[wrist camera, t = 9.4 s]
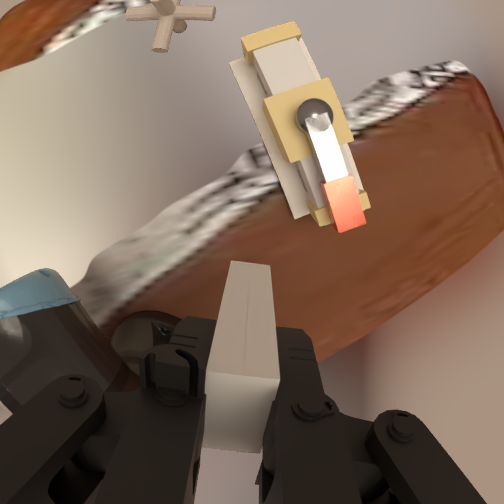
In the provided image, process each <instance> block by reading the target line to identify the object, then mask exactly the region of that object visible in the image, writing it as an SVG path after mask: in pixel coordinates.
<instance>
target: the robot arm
mask: <svg viewBox="0 0 504 504" xmlns="http://www.w3.org/2000/svg"><path fill="white" fill-rule="evenodd" d="M79 301H80V299H79V297H77V296H75V295H74V294H73V292H72V291H71V290H70V288H69V287H68V285H67V284H66V283H65V281H64V280H63V279H62V277H61V276H60V275H59V274H58V273H57V272H56V271H55V270H52V269H47V268H44V269H39V270H36V271H34V272H31V273H29V274H27V275H24V276H22V277H20V278H18V279H16V280H14V281H13V282H11V283H9V284H7V285H6V286H3V287H2V288H0V504H194V499H195V492H196V486H197V480H198V474H199V468H200V454H201V448H202V447H206V448H213V449H220V450H229V451H237V452H248V453H260V452H261V449H262V445H263V459H262V463H261V466H260V469H259V472H258V475H257V479H256V482H255V484H258V485H259V504H487V503H486V502H485V501H484V499H483V498H482V497H481V496H480V494H479V493H478V492H477V490H476V489H475V488H474V487H473V485H472V484H471V483H470V482H469V480H468V479H467V477H466V476H465V475H464V474H463V472H462V471H461V470H460V468H459V467H458V466H457V465H456V463H455V462H454V461H453V460H452V458H451V457H450V456H449V455H448V453H447V452H446V451H445V450H444V448H443V447H442V446H441V444H440V443H439V442H438V441H437V439H436V438H435V437H434V436H433V434H432V433H431V432H430V431H429V429H428V428H427V427H426V426H425V424H424V423H423V422H422V421H420V419H418V418H417V417H416V416H415V415H413V414H410V413H408V412H407V411H401V410H387V411H385V412H383V413H381V414H379V415H378V417H377V418H376V420H375V421H374V422H371V421H366V420H362V419H358V418H353V417H350V416H347V415H344V414H343V413H341V412H339V409H338V407H337V405H336V403H335V402H334V401H333V400H332V399H331V398H330V397H328V396H327V395H325V393H324V389H323V385H322V381H321V377H320V373H319V369H318V365H317V361H316V357H315V353H314V349H313V345H312V341H311V338H310V337H309V336H308V335H307V334H306V333H305V332H304V331H303V330H302V329H294V328H285V327H276V325H275V314H274V303H273V292H272V282H271V271H270V265H263V264H255V263H247V262H240V261H232V260H231V264H230V268H229V272H228V276H227V281H226V285H225V289H224V293H223V298H222V302H221V306H220V311H219V315H218V320H211V319H204V318H197V317H191V316H187V317H186V318H184V319H183V320H180V319H178V318H176V317H174V316H171V315H169V314H165V313H161V312H156V311H143V312H138V313H134V314H132V315H130V316H128V317H126V318H125V319H124V320H123V321H122V322H121V323H120V324H119V326H118V327H117V328H116V330H115V331H114V333H113V335H112V337H111V340H110V343H109V342H108V341H107V339H106V338H105V337H104V335H103V334H102V333H101V331H100V330H99V329H98V327H97V326H96V325H95V323H94V322H93V321H92V319H91V318H90V316H89V315H88V314H87V312H86V311H85V309H84V308H83V306H82V305H81V304H80V302H79Z"/></svg>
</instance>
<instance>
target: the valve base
mask: <svg viewBox="0 0 504 504" xmlns="http://www.w3.org/2000/svg"><path fill="white" fill-rule="evenodd" d="M300 36H301V32H300V30H299V28H298V26H297V25H296V23H295V21H292V22H288V23H285V24H281V25H278V26H274V27H271V28H268V29H265V30H262V31H259V32H256V33H253V34H250V35H247V36H245V37H242V38H241V42H242V48H243V54H244V56H245V57H242V58H239V59H237V60H234V61H232V62H229V65H230V67H231V69H232V72H233V74H234V76H235V78H236V80H237V82H238V85H239V87H240V89H241V91H242V94H243V96H244V98H245V100H246V102H247V105H248V107H249V109H250V112H251V114H252V116H253V118H254V121H255V123H256V126H257V128H258V130H259V133H260V135H261V137H262V140H263V142H264V144H265V147H266V149H267V152H268V154H269V156H270V159H271V161H272V164H273V166H274V169H275V171H276V174H277V176H278V178H279V181H280V183H281V186H282V188H283V191H284V193H285V196H286V199H287V201H288V204H289V206H290V209H291V211H292V214H293V217H294V218H295V219H297V218H299V217H302V216H305V215H307V214H311V216H312V217H313V218H314V220H315V221H316V222H317V223H318V225H319V226H320V227H321V226H325V225H328V224H330V223H332V221H331V218H330V215H329V212H328V208H327V205H326V202H325V199H324V196H323V193H322V190H321V187H320V184H319V181H322V178H321V175H320V172H319V169H318V166H317V163H316V160H315V157H314V155H313V152H312V149H311V146H310V143H309V140H308V138H307V135H306V133H305V132H303V131H302V130H301V129H300V128H299V127H298V126H297V124H296V121H295V113H296V110H297V108H298V107H299V106H300V105H301V104H302V103H303V102H304V101H306V100H308V99H311V98H317V99H321V100H323V101H325V102H326V103H328V104H329V106H330V107H331V109H332V111H333V116H334V118H333V123H332V128H333V130H334V133H335V136H336V139H337V142H338V145H339V148H340V151H341V154H342V157H343V160H344V163H345V166H346V169H347V172H348V174H351V175H353V179H354V182H355V185H356V189H357V192H358V195H359V199H360V203H361V206H362V210H363V211H364V210H365V209H368V208H370V207H371V206H370V203H369V200H368V197H367V193H366V192H365V191H364V190H363V187H362V184H361V181H360V178H359V175H358V172H357V169H356V166H355V163H354V160H353V157H352V155H351V152H350V149H349V146H348V144H347V143H348V142H351V141H354V139H353V136H352V133H351V131H350V128H349V125H348V123H347V120H346V118H345V115H344V113H343V110H342V108H341V105H340V103H339V101H338V98H337V96H336V93H335V91H334V89H333V86H332V85H331V82H330V80H329V78H325V79H321V78H320V76H319V74H318V71H317V69H316V67H315V65H314V63H313V61H312V58H311V57H310V54H309V52H308V50H307V48H306V46H305V44H304V43H303V40H302V39H301V38H300Z"/></svg>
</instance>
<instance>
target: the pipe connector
mask: <svg viewBox="0 0 504 504" xmlns="http://www.w3.org/2000/svg"><path fill="white" fill-rule="evenodd" d="M150 1H151V3H152V4H153V5H154V6H141V7H129V8H128V9H127V11H126V19H127V21H138V20H159V21H158V25H157V29H156V33H155V37H154V41H153V45H152V51H154V52H161V53H163V52H167V51H168V47H169V43H170V39H171V34H172V30H173V31H174V32H176V33H181V32H183V31H185V30H186V28H187V24H186V22H185V21H184V20H208V21H213V20H214V18H215V14H216V8H215V6H199V5H179V3H180V0H150Z"/></svg>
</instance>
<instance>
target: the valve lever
mask: <svg viewBox="0 0 504 504" xmlns="http://www.w3.org/2000/svg"><path fill="white" fill-rule="evenodd" d="M333 118H334V116H333V111H332V109H331V107H330V106H329V104H328V103H326V102H325V101H323V100H321V99H317V98H311V99H308V100H306V101H304V102H303V103H302V104H301V105H300V106H299V107H298V108H297V110H296V113H295V121H296V124H297V126H298V127H299V128H300V129H301V130H302V131H303V132H305V133H306V135H307V138H308V140H309V143H310V146H311V149H312V152H313V155H314V157H315V160H316V163H317V166H318V169H319V172H320V175H321V178H322V181H319V184H320V187H321V190H322V193H323V196H324V199H325V202H326V205H327V208H328V212H329V215H330V218H331V221H332V225H333V227H334V228H335V229H336V231H337V232H338V233H341V232H344V231H346V230H349V229H352V228H355V227H358V226H361V225H363V224H366V221H365V217H364V213H363V210H362V206H361V203H360V199H359V195H358V192H357V189H356V185H355V182H354V179H353V175H351V174H348V172H347V169H346V166H345V163H344V160H343V157H342V154H341V151H340V148H339V145H338V142H337V139H336V136H335V133H334V130H333V128H332V123H333Z"/></svg>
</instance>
